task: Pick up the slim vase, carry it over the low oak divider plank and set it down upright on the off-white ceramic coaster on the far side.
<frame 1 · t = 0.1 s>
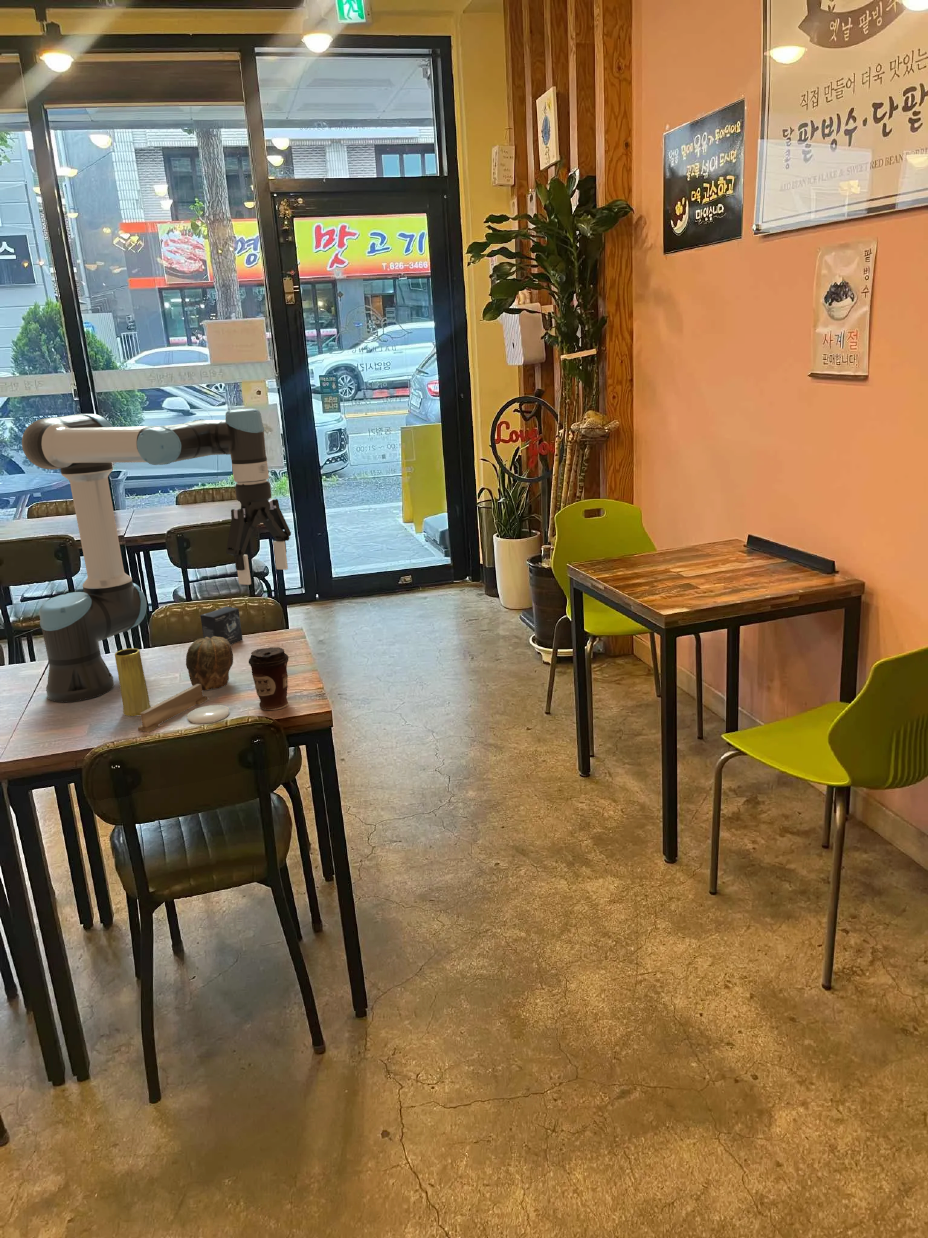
hand: (264, 576, 201), 28 cm above the table, fingers open, 13 cm apart
vase: (137, 712, 203), on the table
divider: (174, 714, 199), on the table
shell: (213, 685, 217), on the table
coffee cup: (274, 706, 201), on the table
box: (224, 644, 248), on the table
coaster: (208, 715, 198), on the table
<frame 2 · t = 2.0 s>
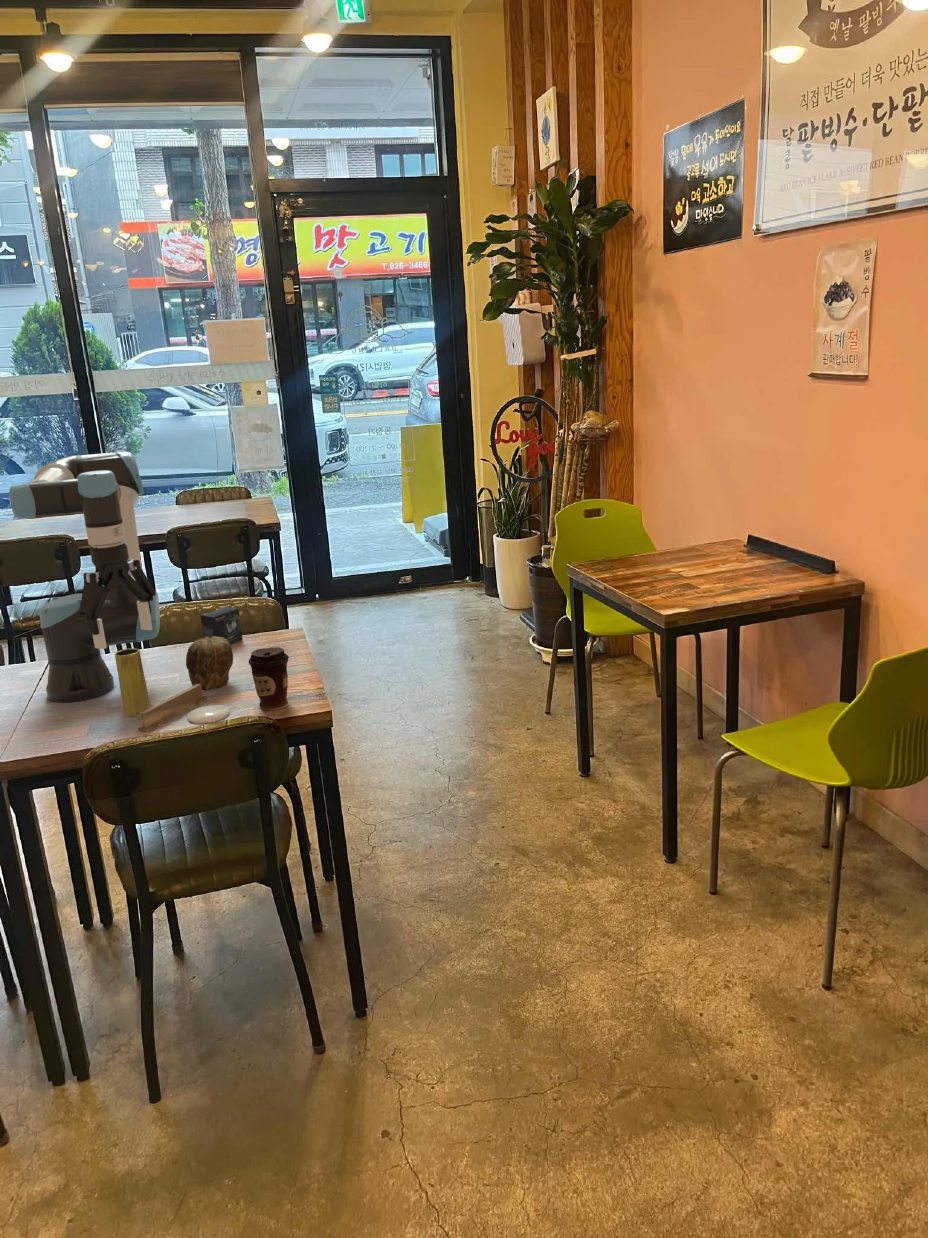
hand: (124, 638, 198), 17 cm above the table, fingers open, 13 cm apart
nothing on the table moved.
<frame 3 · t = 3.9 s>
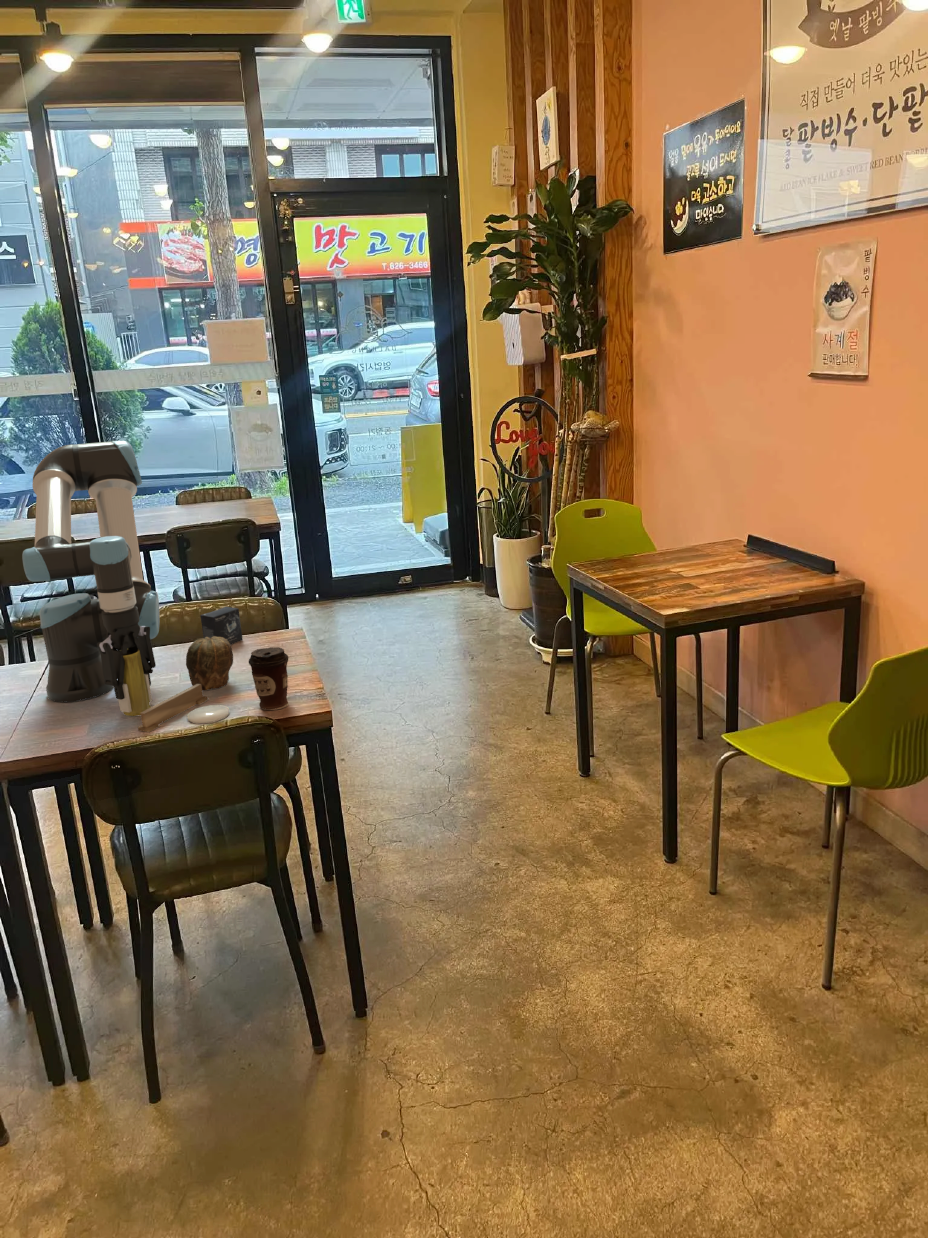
hand: (136, 705, 202), 1 cm above the table, fingers closed on vase, 6 cm apart
vase: (137, 712, 203), on the table, touching gripper
everything else where it was.
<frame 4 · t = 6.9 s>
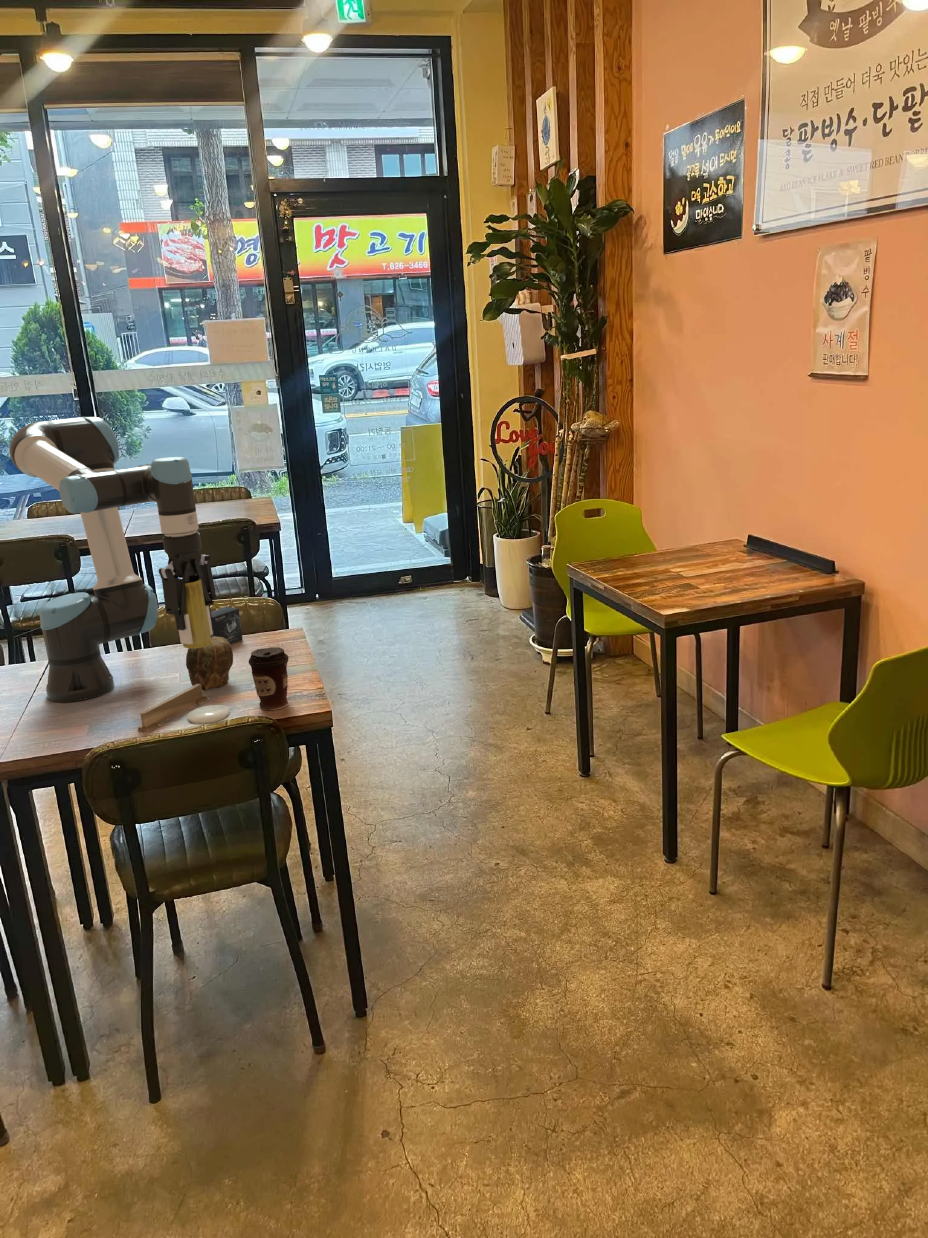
hand: (197, 638, 193), 18 cm above the table, fingers closed on vase, 6 cm apart
vase: (198, 645, 193), point 16 cm above the table, touching gripper
everything else where it was.
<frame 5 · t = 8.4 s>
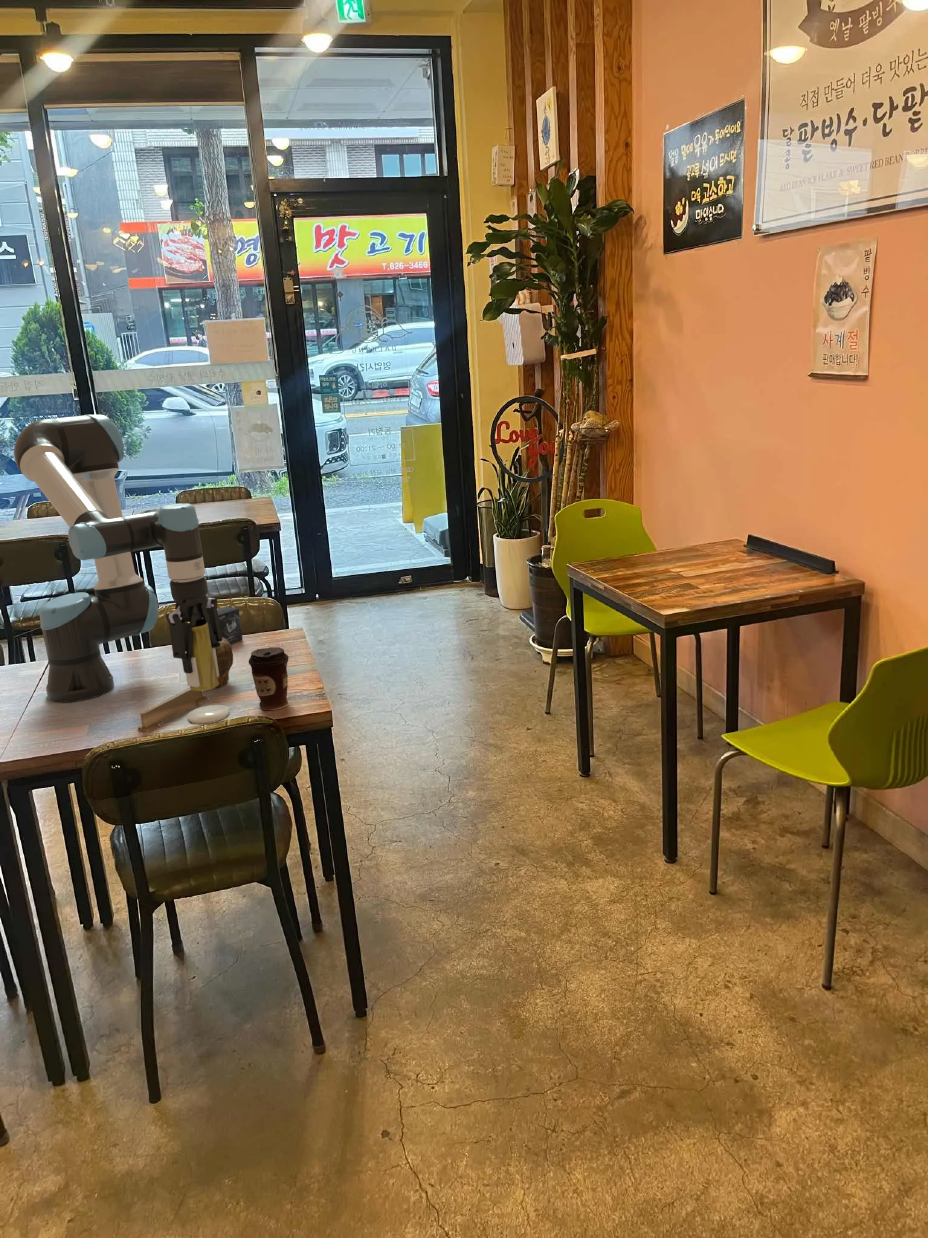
hand: (203, 680, 195), 8 cm above the table, fingers closed on vase, 6 cm apart
vase: (204, 687, 196), point 7 cm above the table, touching gripper
everything else where it was.
when the fingers open (3 cm above the table, at t = 9.7 s): vase drops 1 cm, resting on coaster.
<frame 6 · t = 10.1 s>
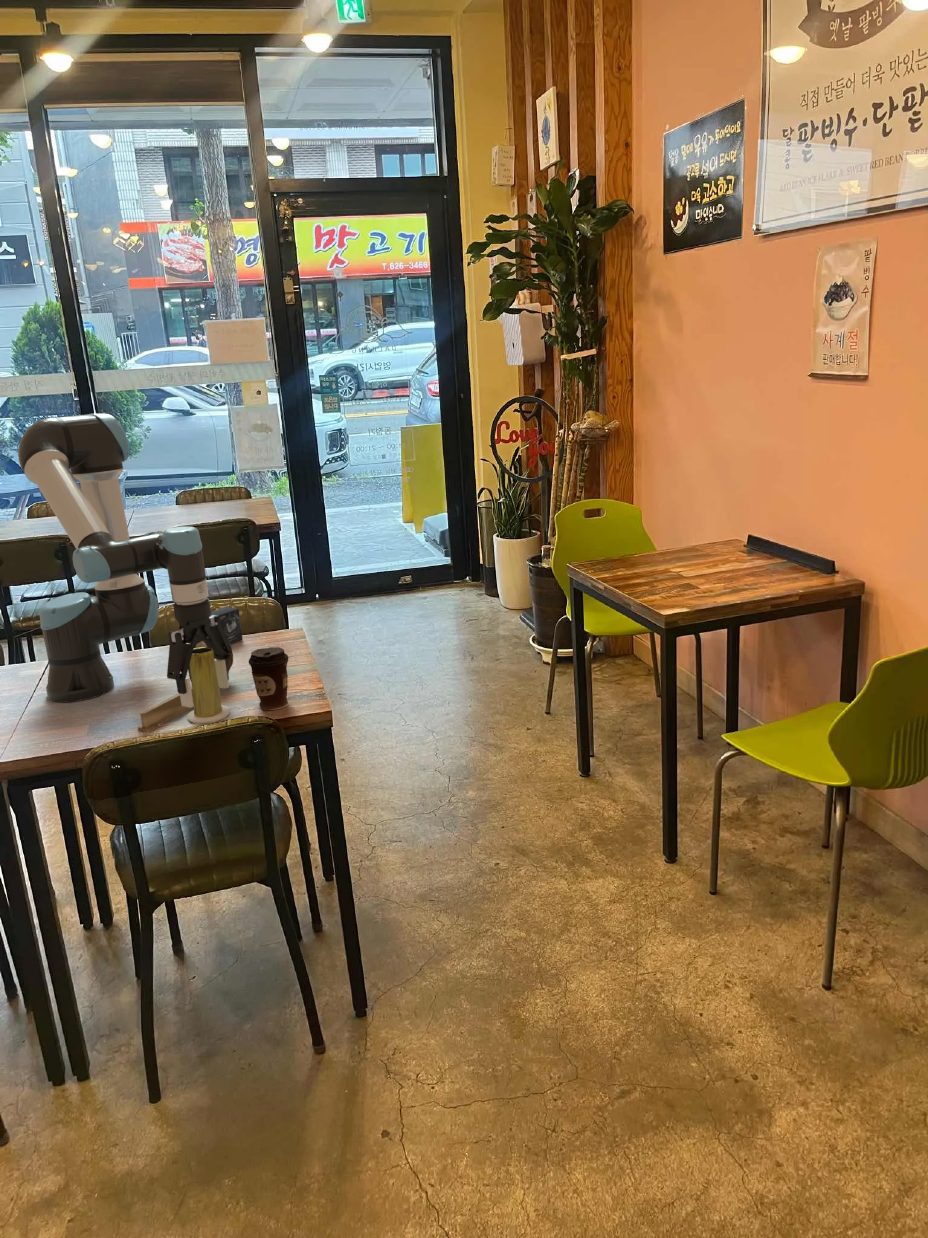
hand: (205, 696, 196), 4 cm above the table, fingers open, 11 cm apart
vase: (208, 713, 198), point 1 cm above the table, touching coaster
everything else where it was.
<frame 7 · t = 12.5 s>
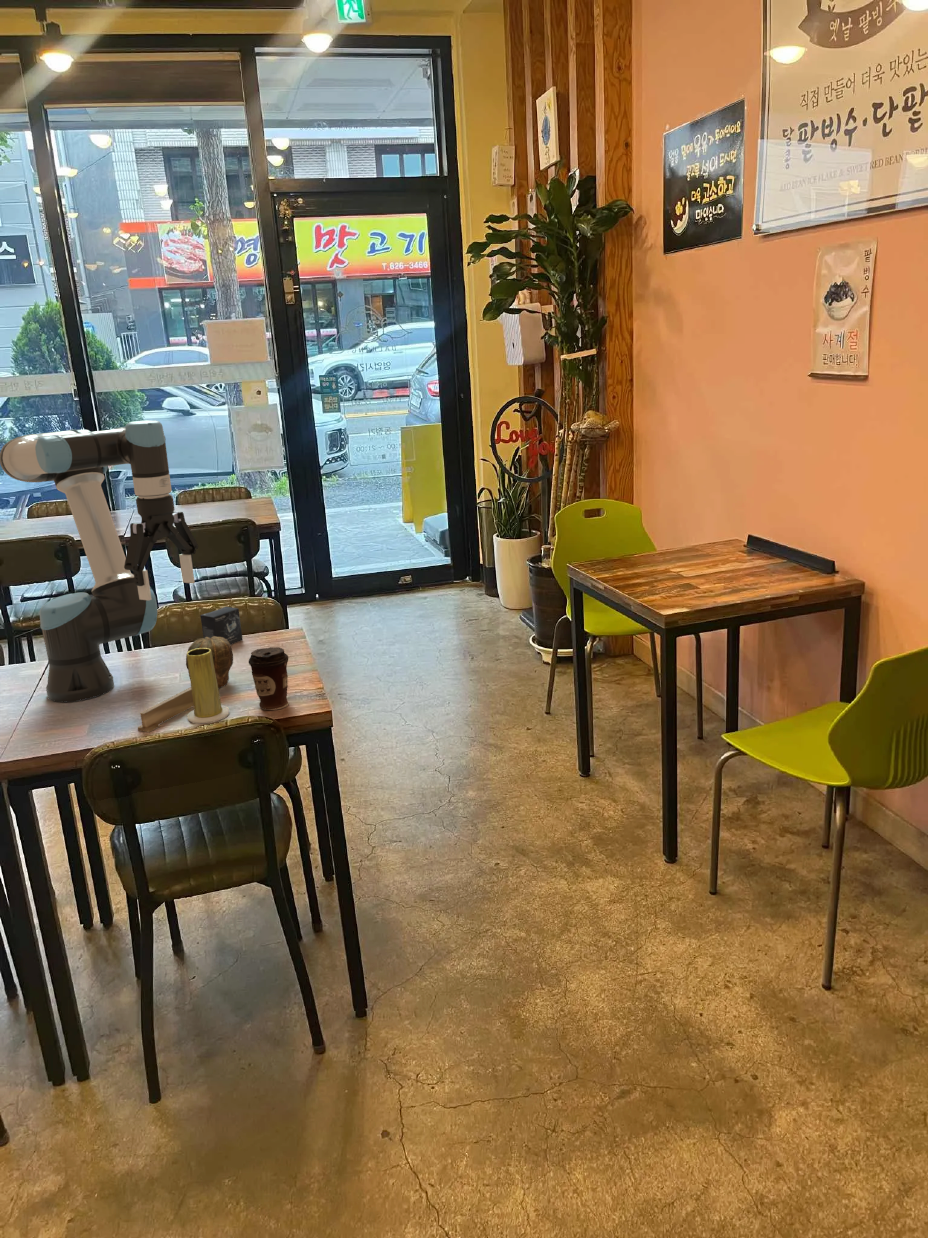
hand: (167, 590, 197), 27 cm above the table, fingers open, 13 cm apart
nothing on the table moved.
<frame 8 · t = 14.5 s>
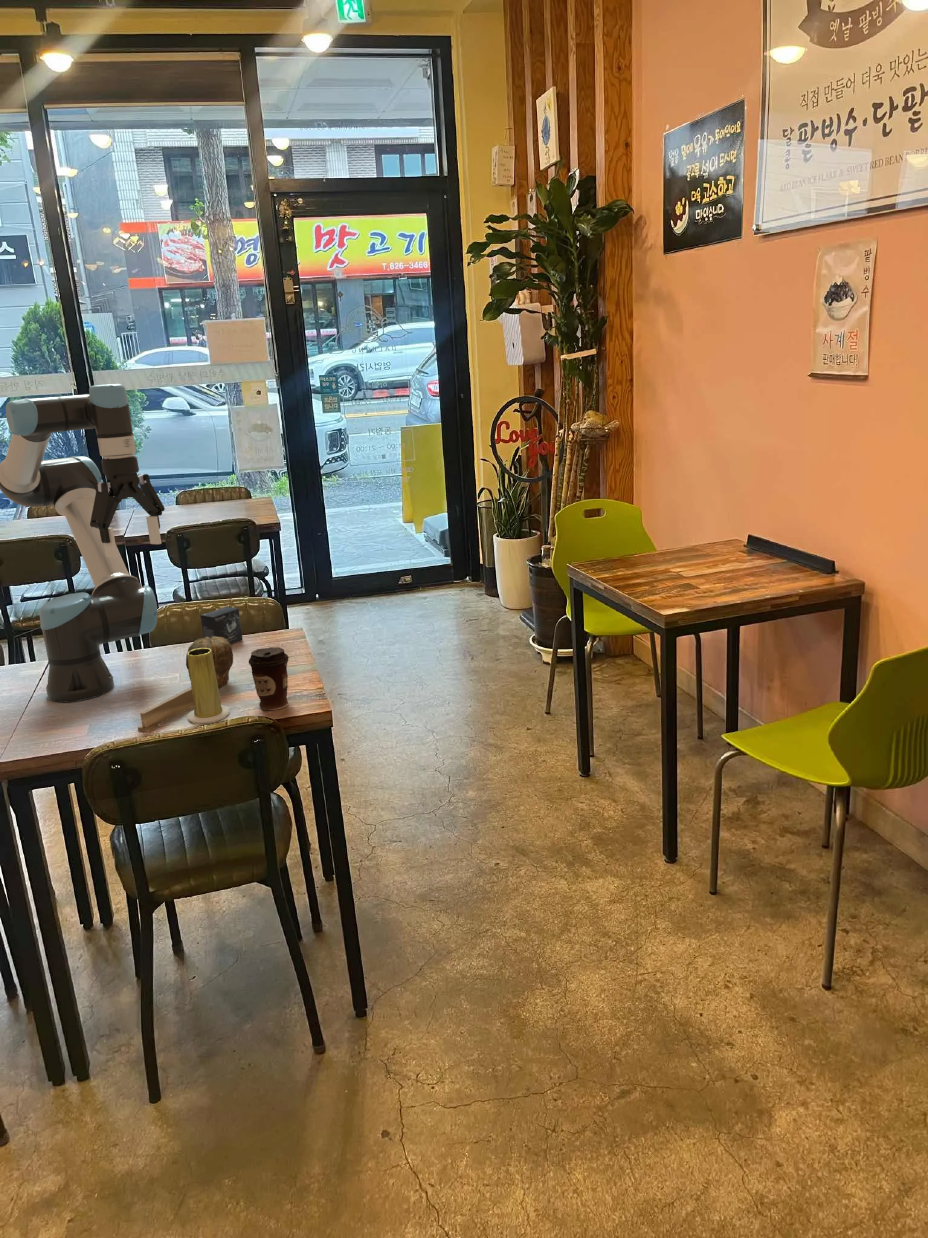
hand: (134, 550, 204), 35 cm above the table, fingers open, 13 cm apart
nothing on the table moved.
at the end: vase inside the target area on the coaster (0.1 cm from its centre), point 0.4 cm above the coaster's base; vase tilted 0°; the gripper is holding nothing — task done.
